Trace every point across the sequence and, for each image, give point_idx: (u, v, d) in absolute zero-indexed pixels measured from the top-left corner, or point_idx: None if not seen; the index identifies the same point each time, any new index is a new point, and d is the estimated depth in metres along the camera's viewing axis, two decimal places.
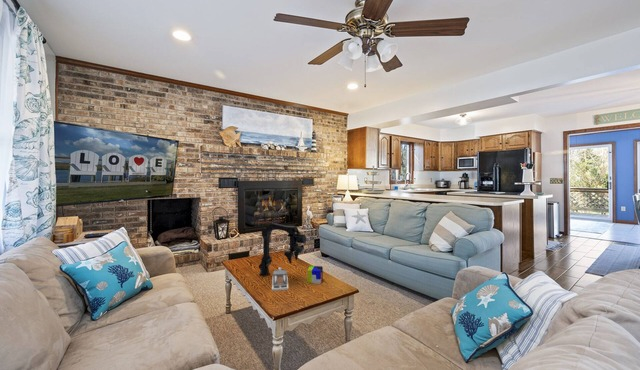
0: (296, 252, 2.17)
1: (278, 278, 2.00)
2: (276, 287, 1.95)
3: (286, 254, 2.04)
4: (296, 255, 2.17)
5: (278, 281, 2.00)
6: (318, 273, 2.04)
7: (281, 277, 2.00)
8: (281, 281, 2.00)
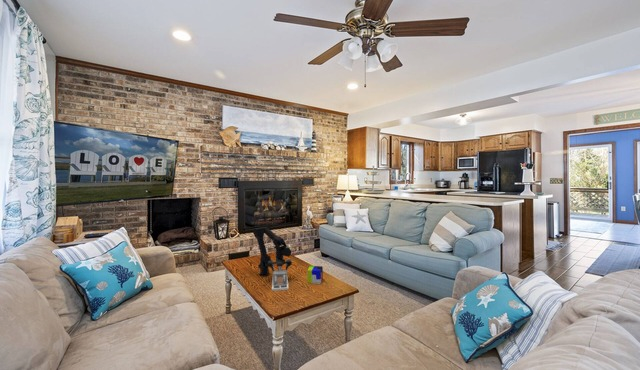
0: (286, 265, 2.14)
1: (278, 278, 2.00)
2: (276, 287, 1.95)
3: (267, 263, 2.12)
4: None
5: (278, 281, 2.00)
6: (318, 273, 2.04)
7: (281, 277, 2.00)
8: (281, 281, 2.00)
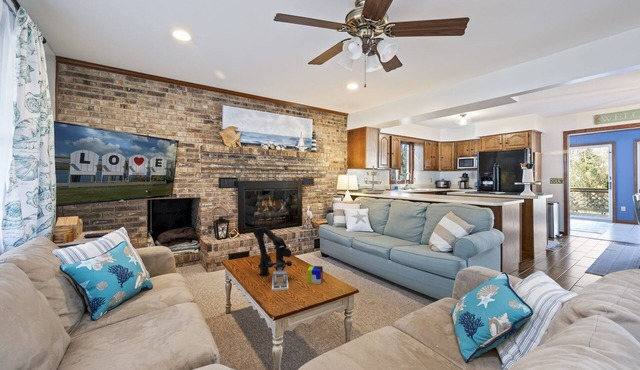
0: (282, 267, 2.13)
1: (278, 278, 2.00)
2: (276, 287, 1.95)
3: (267, 264, 2.12)
4: None
5: (278, 281, 2.00)
6: (318, 273, 2.04)
7: (281, 277, 2.00)
8: (281, 281, 2.00)
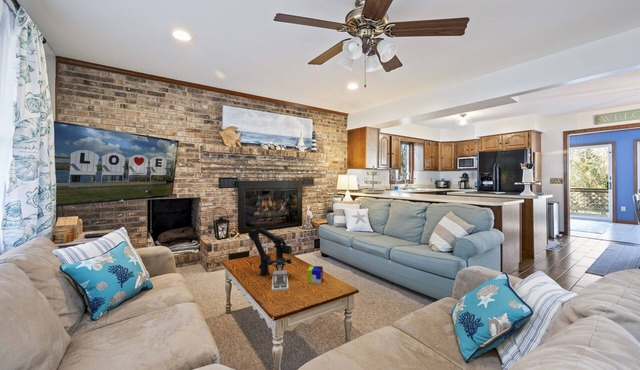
0: (282, 264, 2.19)
1: None
2: (276, 287, 1.95)
3: (268, 262, 2.18)
4: None
5: (278, 278, 2.06)
6: (318, 273, 2.04)
7: None
8: (281, 278, 2.06)
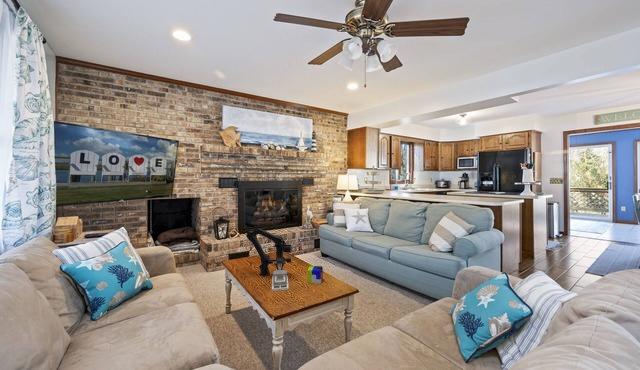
0: (282, 263, 2.22)
1: None
2: (276, 287, 1.95)
3: None
4: None
5: (278, 277, 2.08)
6: (318, 273, 2.04)
7: None
8: (281, 277, 2.08)
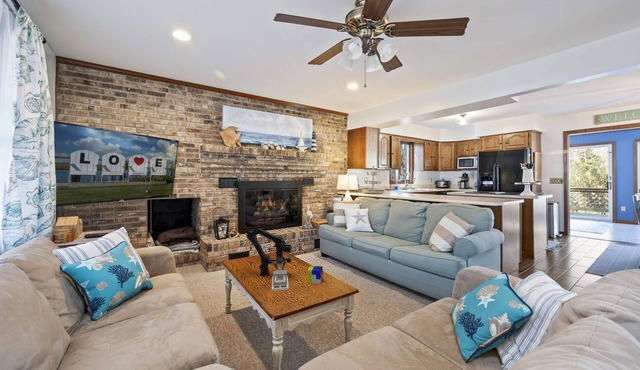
0: None
1: None
2: (276, 287, 1.95)
3: None
4: (282, 266, 2.22)
5: (278, 277, 2.08)
6: (318, 273, 2.04)
7: None
8: (281, 277, 2.09)
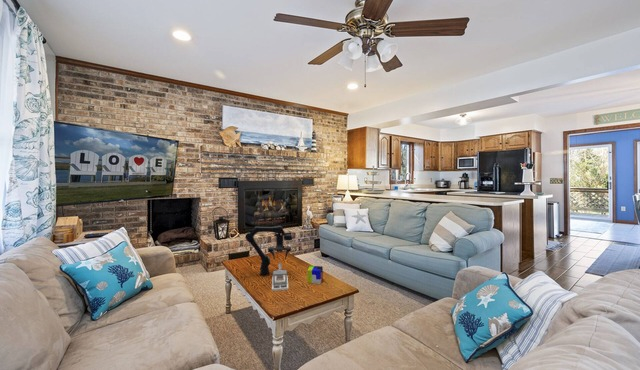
0: None
1: None
2: (276, 287, 1.95)
3: None
4: None
5: (278, 277, 2.08)
6: (318, 273, 2.04)
7: None
8: (281, 277, 2.09)
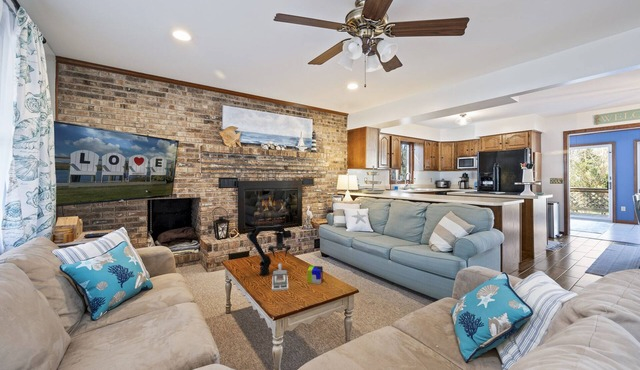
0: (285, 250, 2.32)
1: None
2: (276, 287, 1.95)
3: None
4: (285, 252, 2.32)
5: (278, 277, 2.08)
6: (318, 273, 2.04)
7: None
8: (281, 277, 2.09)
